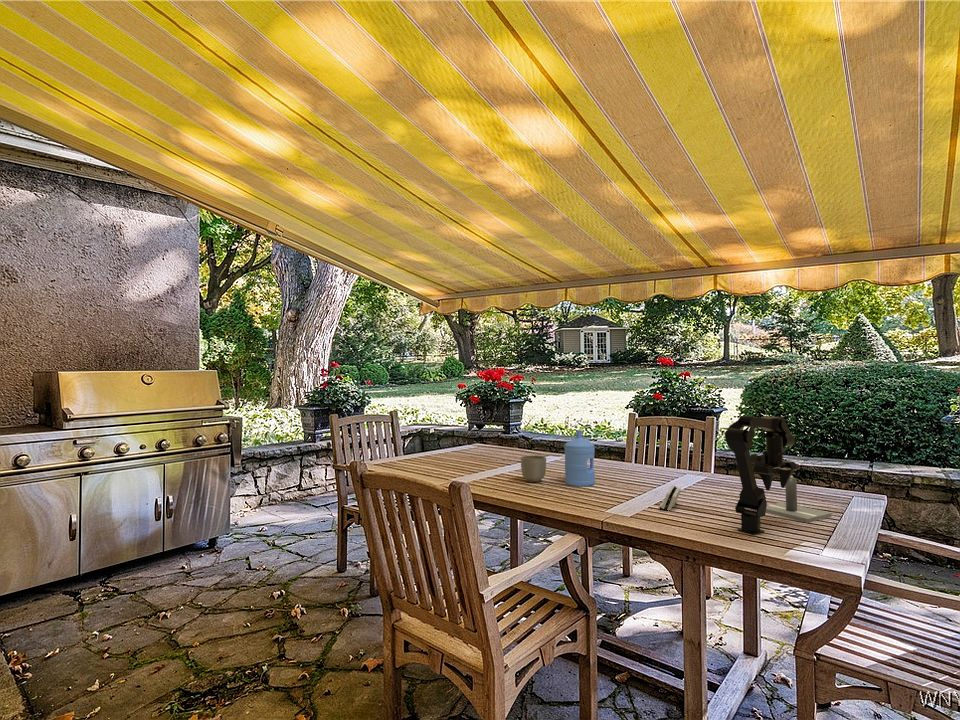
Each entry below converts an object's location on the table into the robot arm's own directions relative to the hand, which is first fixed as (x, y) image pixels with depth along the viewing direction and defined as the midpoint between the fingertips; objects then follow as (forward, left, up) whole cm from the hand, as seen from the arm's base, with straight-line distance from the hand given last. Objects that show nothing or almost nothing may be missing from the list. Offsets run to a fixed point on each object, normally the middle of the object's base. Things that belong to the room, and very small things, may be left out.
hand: (775, 489), depth 201 cm
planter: (-40, +110, -13) cm, 118 cm away
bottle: (+16, +4, -11) cm, 20 cm away
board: (+18, +4, -13) cm, 23 cm away
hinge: (-16, +37, -13) cm, 43 cm away
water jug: (-22, +93, -13) cm, 96 cm away
